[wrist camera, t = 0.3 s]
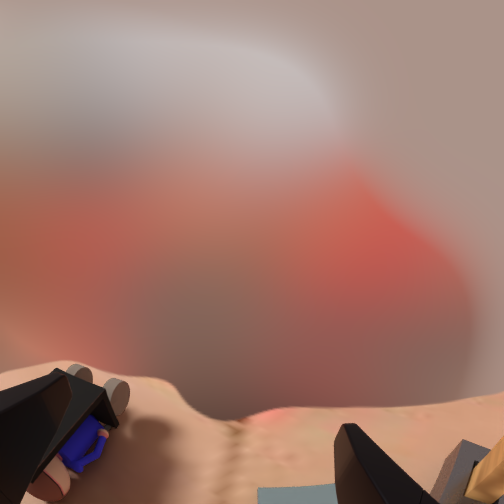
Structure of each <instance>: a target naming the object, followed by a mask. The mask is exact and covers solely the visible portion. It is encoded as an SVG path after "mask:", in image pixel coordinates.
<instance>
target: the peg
mask: <svg viewBox="0 0 504 504" xmlns="http://www.w3.org/2000/svg"><path fill="white" fill-rule="evenodd" d="M503 494H504V436H503V437H502V438H501V439H500V441H499V442H498V443H497V444H496V445H495V446H494V448H493V449H492V450H491V451H490V452H489V453H488V454H487V455H486V456H485V457H484V458H483V460H482V461H481V462H480V463H479V464H478V465H477V466H476V467H475V468H474V469H473V470H472V471H471V474H470V477H469V480H468V483H467V486H466V488H465V491H464V494H463V496H465V497H468V498H471V499H474V500H477V501H481V502H484V503H487V504H492V503H494V502H495V501H496V500H497V499H499V498H500V497H501V496H502V495H503Z"/></svg>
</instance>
